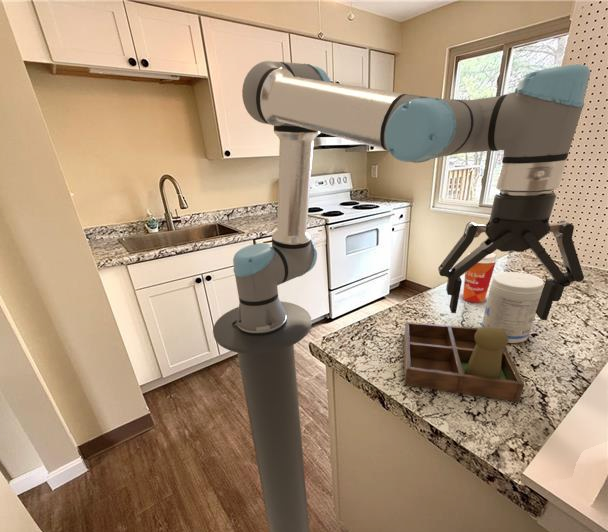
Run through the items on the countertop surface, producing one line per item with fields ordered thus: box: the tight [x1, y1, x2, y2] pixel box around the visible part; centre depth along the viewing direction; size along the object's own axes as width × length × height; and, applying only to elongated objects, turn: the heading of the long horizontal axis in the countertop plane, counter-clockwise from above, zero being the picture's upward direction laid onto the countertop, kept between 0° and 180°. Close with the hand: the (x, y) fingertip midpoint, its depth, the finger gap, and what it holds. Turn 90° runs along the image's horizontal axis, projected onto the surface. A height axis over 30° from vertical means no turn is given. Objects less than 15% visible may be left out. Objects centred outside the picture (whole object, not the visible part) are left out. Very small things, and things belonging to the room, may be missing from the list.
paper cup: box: [462, 252, 498, 304], centre depth 91 cm, size 8×8×14 cm
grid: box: [403, 321, 525, 403], centre depth 67 cm, size 19×19×4 cm
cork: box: [465, 326, 509, 379], centre depth 60 cm, size 6×6×11 cm
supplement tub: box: [480, 271, 545, 344], centre depth 73 cm, size 10×10×15 cm
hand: (494, 313), depth 56 cm, fingers open, 13 cm apart
